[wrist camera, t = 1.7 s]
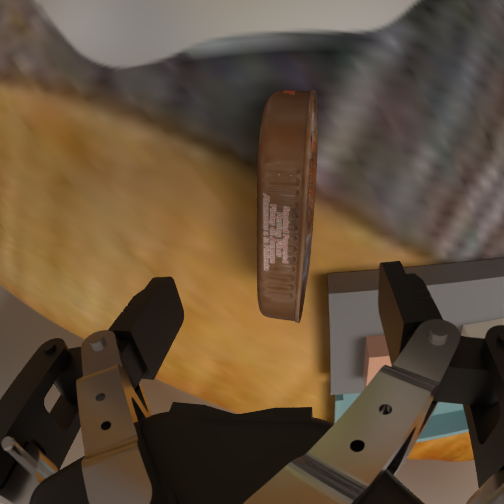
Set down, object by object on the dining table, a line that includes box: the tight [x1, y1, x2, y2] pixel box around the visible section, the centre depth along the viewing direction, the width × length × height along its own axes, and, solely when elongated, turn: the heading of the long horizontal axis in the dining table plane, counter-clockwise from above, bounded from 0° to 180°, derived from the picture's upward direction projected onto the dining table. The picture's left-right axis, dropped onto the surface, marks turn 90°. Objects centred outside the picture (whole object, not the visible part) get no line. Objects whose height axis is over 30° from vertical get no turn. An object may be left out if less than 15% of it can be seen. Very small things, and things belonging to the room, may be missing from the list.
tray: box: [334, 393, 469, 442], centre depth 29 cm, size 19×10×4 cm, turn 99°
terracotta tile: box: [363, 335, 392, 389], centre depth 24 cm, size 5×5×2 cm
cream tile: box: [461, 318, 504, 338], centre depth 22 cm, size 5×5×2 cm
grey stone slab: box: [327, 258, 504, 395], centre depth 25 cm, size 20×12×3 cm, turn 99°
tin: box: [257, 90, 318, 323], centre depth 20 cm, size 15×3×8 cm, turn 0°
